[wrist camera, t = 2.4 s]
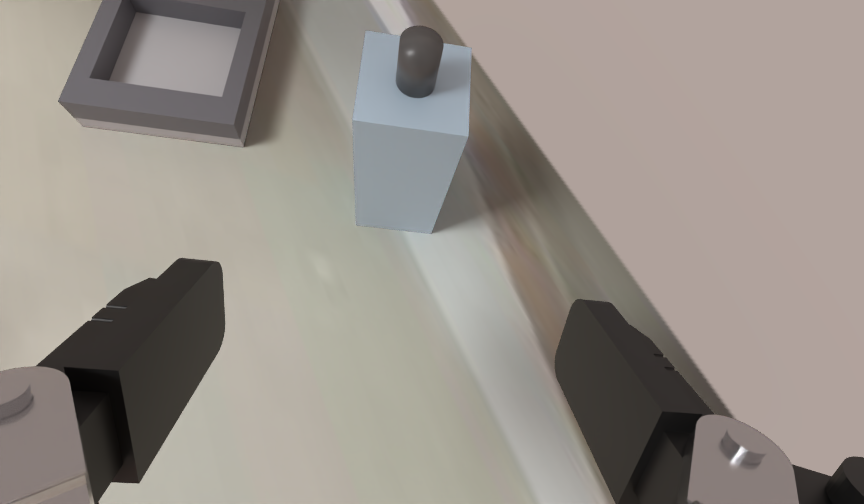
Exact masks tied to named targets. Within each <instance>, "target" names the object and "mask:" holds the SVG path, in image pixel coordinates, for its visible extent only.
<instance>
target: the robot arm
mask: <svg viewBox="0 0 864 504" xmlns="http://www.w3.org/2000/svg"><path fill="white" fill-rule="evenodd" d="M224 332H225V310H224V291H223V273H222V267H221V265H220V263H219V262H216V261H206V260H196V259H187V258H179V259H178V260H176V261H175V262H174V263H173V264H172V265H171V266H170V267H169V268H168V269H167V270H166V271H165V272H164V273H162V274H161V275H160V276H159V277H158V278H157V279H154V278H148V279H146V280H144V281H142V282H139V283H137V284H135V285H133V286H131V287H128V288H126V289H124V290H123V291H122V292H121V293H119V294H118V295H117V296H116V297H115V298H114V299H112V300H111V301H110V302H109V303H108V304H107V306H106V308H102V309H101V310H100V311H99V312H97V313H96V314H95V315H94V316H93V317H92V320H91V321H87V322H86V323H85V324H84V325H83V326H81V327H80V328H79V329H78V330H77V331H76V332H74V333H73V334H72V335H71V336H70V337H69V338H68V339H66V340H65V341H64V342H63V343H62V344H61V345H59V346H58V347H57V348H56V349H55V350H54V351H53V352H51V353H50V354H49V355H48V356H47V357H46V358H45V359H43V360H42V361H41V362H40V363H39V364H38V365H36V366H33V367H21V368H14V369H9V370H4V371H0V504H99V500H100V498H101V497H102V495H103V494H104V492H105V491H106V489H107V488H108V486H109V485H110V483H111V482H119V483H140V481H141V479H142V478H143V476H144V474H145V473H146V471H147V469H148V468H149V466H150V464H151V463H152V461H153V459H154V458H155V456H156V455H157V453H158V451H159V450H160V448H161V446H162V445H163V443H164V441H165V440H166V438H167V436H168V435H169V433H170V431H171V430H172V428H173V426H174V425H175V423H176V421H177V420H178V418H179V416H180V415H181V413H182V411H183V410H184V408H185V406H186V405H187V403H188V402H189V400H190V398H191V397H192V395H193V393H194V392H195V390H196V388H197V387H198V385H199V383H200V382H201V380H202V378H203V377H204V375H205V373H206V372H207V370H208V368H209V367H210V365H211V363H212V362H213V360H214V358H215V357H216V355H217V353H218V352H219V350H220V347H221V345H222V341H223V337H224ZM555 372H556V377H557V380H558V382H559V384H560V386H561V388H562V390H563V393H564V395H565V397H566V399H567V401H568V403H569V405H570V407H571V410H572V412H573V414H574V416H575V418H576V420H577V422H578V424H579V427H580V429H581V431H582V433H583V435H584V437H585V439H586V441H587V444H588V446H589V448H590V450H591V452H592V454H593V456H594V459H595V461H596V463H597V465H598V467H599V469H600V471H601V473H602V476H603V478H604V480H605V482H606V484H607V486H608V488H609V490H610V493H611V495H612V497H613V499H614V501H615V503H616V504H864V458H863V457H849V458H846V459H845V460H844V461H843V463H842V464H841V465H840V466H839V468H838V469H837V471H836V472H835V473H834V474H833V476H832V477H831V476H828V475H825V474H821V473H818V472H815V471H812V470H808V469H805V468H802V467H798V466H795V465H792V464H791V462H790V460H789V459H788V457H787V456H786V455H785V453H784V452H783V451H782V450H781V449H780V448H779V447H778V446H777V445H776V444H775V443H774V442H773V441H771V440H770V439H769V438H768V437H766V436H765V435H764V434H762V433H761V432H759V431H758V430H756V429H754V428H752V427H751V426H749V425H747V424H745V423H743V422H741V421H738V420H736V419H733V418H730V417H726V416H722V415H714V413H713V412H712V411H711V410H710V409H709V407H708V406H707V405H706V404H705V403H704V402H703V400H702V399H701V398H700V397H699V396H698V395H697V393H696V392H695V391H694V390H693V389H692V388H691V386H690V385H689V384H688V383H687V382H686V381H685V379H684V378H683V377H682V376H681V375H680V374H679V372H678V371H675V370H674V366H673V365H672V364H671V363H670V362H669V361H668V359H667V358H663V354H662V352H661V351H660V350H659V349H658V348H657V347H656V345H655V344H654V343H653V342H652V341H651V340H650V339H649V338H648V337H647V336H645V335H644V334H642V333H641V332H640V331H638V330H637V329H635V328H634V327H633V326H631V325H629V324H628V323H627V321H626V320H625V319H624V318H623V317H622V315H621V314H620V313H619V312H618V310H617V309H616V308H615V307H614V306H613V305H612V304H611V303H610V302H602V301H592V300H583V299H577V300H576V301H575V302H574V303H573V304H572V306H571V309H570V312H569V315H568V318H567V321H566V324H565V327H564V330H563V333H562V336H561V339H560V342H559V345H558V348H557V351H556V356H555Z"/></svg>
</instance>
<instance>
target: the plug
mask: <svg viewBox="0 0 864 504" xmlns="http://www.w3.org/2000/svg"><path fill="white" fill-rule="evenodd" d="M471 51H472V48H470V47H464V46H458V45H451V44H445V43H443V40H442V38H441V36H440V35H439V34H438V33H437V32H436V31H434V30H433V29H431V28H428V27H425V26H413V27H409V28H407V29H406V30H405V31H403V33H402V34H401V36H397V35H391V34H385V33H379V32H373V31H367V30H366V32H365V38H364V45H363V52H362V58H361V65H360V72H359V79H358V85H357V92H356V99H355V106H354V112H353V119H352V125H353V154H354V184H355V213H356V225H359V226H368V227H376V228H385V229H394V230H403V231H412V232H421V233H429V234H431V233H432V230H433V228H434V225H435V222H436V220H437V217H438V215H439V212H440V209H441V207H442V204H443V202H444V199H445V196H446V194H447V191H448V189H449V186H450V183H451V181H452V178H453V175H454V173H455V170H456V168H457V165H458V162H459V160H460V157H461V155H462V152H463V149H464V147H465V144H466V142H467V139H468V136H469V107H470V79H471Z"/></svg>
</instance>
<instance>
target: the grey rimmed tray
mask: <svg viewBox="0 0 864 504" xmlns="http://www.w3.org/2000/svg"><path fill="white" fill-rule="evenodd" d="M279 2H280V0H103V1H102V3H101V5H100V7H99V10H98V12H97V14H96V16H95V19H94V21H93V23H92V25H91V28H90V30H89V32H88V35H87V37H86V39H85V41H84V44H83V46H82V48H81V50H80V53H79V55H78V57H77V59H76V62H75V64H74V66H73V68H72V71H71V73H70V75H69V77H68V80H67V82H66V84H65V87H64V89H63V91H62V93H61V96H60V98H59V100H58V102H59V103H60V104H61V105H62V106H63V107H64V108H65V109H66V110H67V111H68V112H69V113H70V114H71V115H72V116H73V117H74V118H75V119H76V120H77V121H78V122H79V123H80V124H81V125H82V126H85V127H92V128H100V129H108V130H116V131H123V132H131V133H139V134H146V135H154V136H162V137H169V138H177V139H185V140H192V141H200V142H208V143H216V144H223V145H231V146H239V147H244V143H245V139H246V135H247V131H248V127H249V123H250V119H251V115H252V111H253V107H254V103H255V98H256V94H257V90H258V86H259V82H260V78H261V74H262V70H263V66H264V62H265V58H266V54H267V50H268V46H269V42H270V38H271V34H272V30H273V26H274V22H275V18H276V14H277V10H278V6H279Z"/></svg>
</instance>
